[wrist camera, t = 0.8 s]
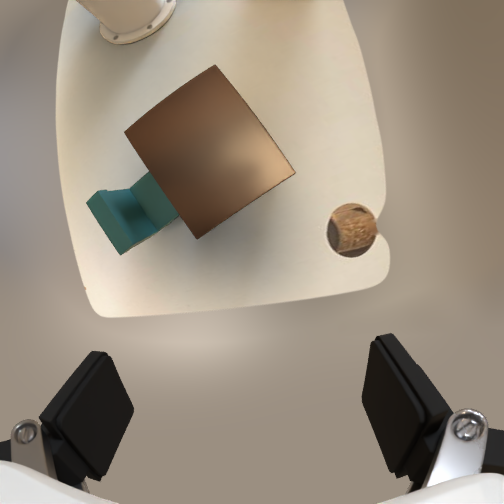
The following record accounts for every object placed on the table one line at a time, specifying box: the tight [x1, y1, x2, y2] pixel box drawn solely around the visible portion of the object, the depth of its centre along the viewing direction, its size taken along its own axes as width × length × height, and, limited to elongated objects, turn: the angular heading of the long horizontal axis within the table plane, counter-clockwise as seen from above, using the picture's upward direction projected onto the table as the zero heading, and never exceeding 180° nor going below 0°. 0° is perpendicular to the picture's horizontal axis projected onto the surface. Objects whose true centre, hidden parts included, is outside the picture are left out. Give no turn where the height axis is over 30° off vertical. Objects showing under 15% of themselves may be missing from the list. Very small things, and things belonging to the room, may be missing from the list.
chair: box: [86, 171, 179, 255], centre depth 28 cm, size 8×6×13 cm
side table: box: [124, 65, 295, 239], centre depth 27 cm, size 12×10×12 cm
